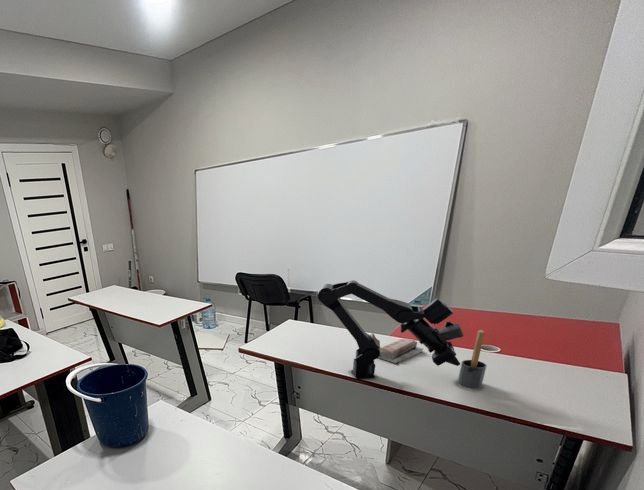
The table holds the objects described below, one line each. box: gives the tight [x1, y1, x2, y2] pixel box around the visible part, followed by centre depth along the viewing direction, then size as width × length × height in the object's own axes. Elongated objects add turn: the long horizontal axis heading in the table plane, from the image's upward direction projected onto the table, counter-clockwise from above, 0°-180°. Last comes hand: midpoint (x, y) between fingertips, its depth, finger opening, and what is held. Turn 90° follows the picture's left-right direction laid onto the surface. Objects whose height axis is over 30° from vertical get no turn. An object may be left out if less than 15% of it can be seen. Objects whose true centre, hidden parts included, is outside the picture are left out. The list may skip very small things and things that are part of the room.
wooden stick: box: [470, 329, 485, 368], centre depth 117 cm, size 1×2×19 cm, turn 153°
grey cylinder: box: [457, 359, 488, 389], centre depth 119 cm, size 6×6×8 cm
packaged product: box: [377, 338, 424, 364], centre depth 147 cm, size 18×5×10 cm
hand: (458, 364), depth 120 cm, fingers closed
